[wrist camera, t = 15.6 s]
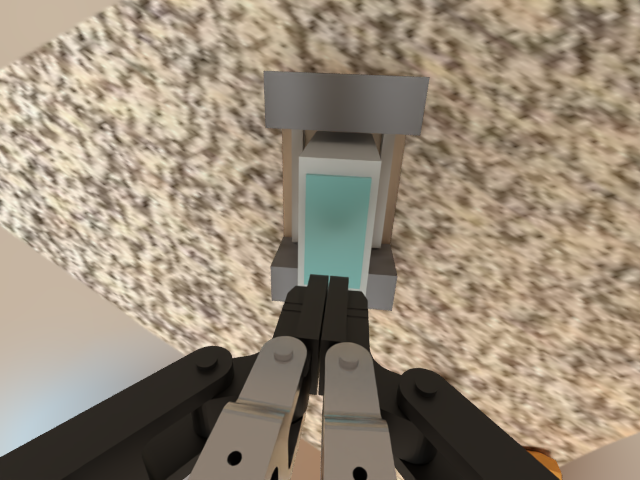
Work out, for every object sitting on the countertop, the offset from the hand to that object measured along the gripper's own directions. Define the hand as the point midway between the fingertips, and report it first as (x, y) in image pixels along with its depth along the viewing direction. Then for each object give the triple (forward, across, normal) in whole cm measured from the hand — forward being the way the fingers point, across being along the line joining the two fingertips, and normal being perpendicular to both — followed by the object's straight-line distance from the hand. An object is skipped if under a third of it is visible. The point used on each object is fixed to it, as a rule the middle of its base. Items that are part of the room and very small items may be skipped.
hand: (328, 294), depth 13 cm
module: (+14, 0, 0) cm, 15 cm away
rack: (+16, 0, 0) cm, 16 cm away
